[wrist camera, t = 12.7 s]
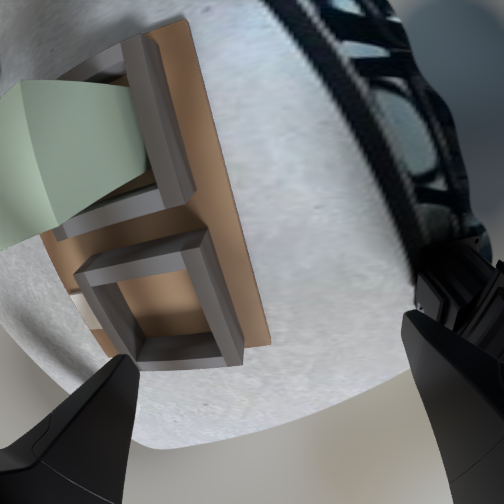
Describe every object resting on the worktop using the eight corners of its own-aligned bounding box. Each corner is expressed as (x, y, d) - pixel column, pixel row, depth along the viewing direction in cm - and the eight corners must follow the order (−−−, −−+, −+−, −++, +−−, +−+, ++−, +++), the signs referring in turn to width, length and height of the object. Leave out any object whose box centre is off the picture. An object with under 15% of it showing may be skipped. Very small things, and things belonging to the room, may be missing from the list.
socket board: (188, 22, 13) (171, 2, 10) (271, 338, 24) (271, 371, 20) (11, 120, 15) (-19, 127, 12) (110, 352, 26) (97, 378, 23)
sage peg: (133, 88, 14) (19, 80, 5) (155, 166, 17) (58, 226, 8) (69, 120, 15) (-43, 146, 6) (90, 190, 17) (-10, 255, 8)
